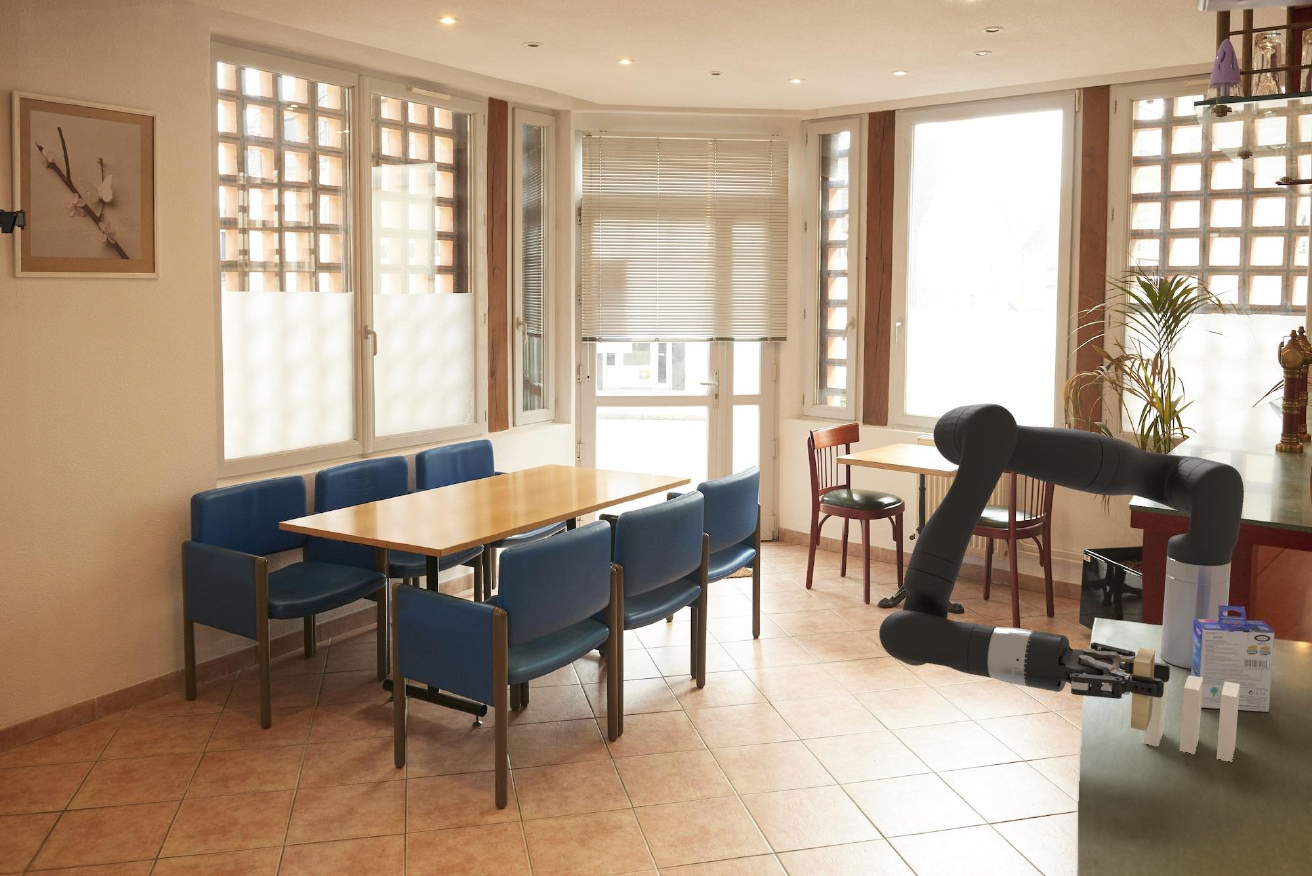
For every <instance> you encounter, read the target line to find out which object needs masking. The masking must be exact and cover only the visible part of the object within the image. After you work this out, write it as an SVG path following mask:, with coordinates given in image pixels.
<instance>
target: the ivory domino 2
mask: <svg viewBox="0 0 1312 876" xmlns="http://www.w3.org/2000/svg"><path fill="white" fill-rule="evenodd" d="M1202 687H1203V678H1202V677H1196V676H1191V674H1190V675H1189V674H1188V676H1187V677H1186V681H1185V683H1184V687H1183V694H1182V695H1183V699H1182V710H1181V711H1182V713H1181V726H1180V739H1179V752H1180V751H1183V752H1182V753H1185V752H1189V753H1191V755H1194V754H1196V752H1197V748H1196V747H1198V743H1199V741H1198V740H1199V739H1200V727H1201V726H1200V724H1201V713H1202V708H1201V700H1202ZM1189 753H1188V754H1189Z"/></svg>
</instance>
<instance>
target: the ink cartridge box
mask: <svg viewBox="0 0 1312 876" xmlns="http://www.w3.org/2000/svg"><path fill="white" fill-rule="evenodd" d="M1226 611H1227V612H1229V611H1230V612H1232V611H1233V612H1237V613H1239V614H1240V616H1236V615H1227V616H1224V615H1223V612H1226ZM1218 613H1219V615H1218V618H1219V620H1211V619H1194V623H1193V649H1192V669H1191V672H1190V675H1191V676H1196V677H1202V678H1203V687H1202V700H1201V709H1204V708H1205V709H1216V710H1217V709H1218V710H1220V705H1221V694H1222V690H1223V686H1224V682H1225V681H1226V682H1231V683H1237V684H1240V690H1239V703H1238V711H1248V712H1249V711H1251V712H1265V713H1267V712H1270V711H1269V710H1270V698H1271V684H1272V669H1273V668H1272V667H1273V660H1274V659H1273V658H1274V645H1275V635H1276V634H1275V630H1273V629H1272V628H1271V627H1270V626H1269V625H1268V624H1267V623H1266V622H1264V621H1263V620H1247V619H1248V618H1247V614H1246V609H1245V606H1237V605H1228V606H1223V605H1218Z"/></svg>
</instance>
